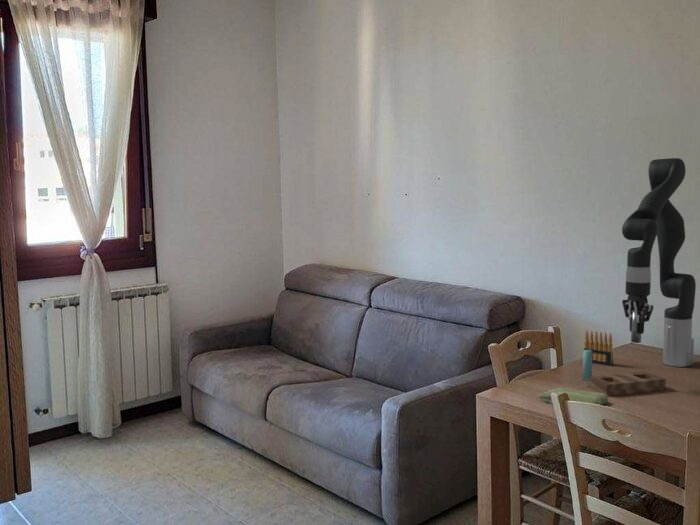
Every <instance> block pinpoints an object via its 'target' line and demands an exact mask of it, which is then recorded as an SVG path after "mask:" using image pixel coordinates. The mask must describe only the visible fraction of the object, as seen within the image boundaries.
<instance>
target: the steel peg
mask: <svg viewBox="0 0 700 525" xmlns="http://www.w3.org/2000/svg"><path fill="white" fill-rule="evenodd" d="M639 313H642V312H639ZM640 318H641V315H640ZM636 326H637V317H636V315H635V311H632V330H631V331H630V332H631V336H630V337H631V338H630V339H631V340H630V342H631V343H634V344H639V343H642V334H637V333H636Z"/></svg>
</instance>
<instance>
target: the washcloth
mask: <svg viewBox="0 0 700 525" xmlns="http://www.w3.org/2000/svg"><path fill="white" fill-rule="evenodd" d="M552 392H565V393H567V394H568V395H569V398H570V400H574V401H582V402H589V403H595V404H603V405H604V404H607V403H608V402H609V398H608V396H606V395H605V394H603V393H599V392H593V391H592V392H591V391H588V390H581V389H575V388H567V387H557V388H554V389H550V390H546V392H544V393H539V394H538V398H539V399H541V402H542V401H544V402H551V397H550V394H551V393H552ZM544 402H543V403H544Z"/></svg>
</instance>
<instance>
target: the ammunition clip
mask: <svg viewBox="0 0 700 525" xmlns="http://www.w3.org/2000/svg"><path fill="white" fill-rule="evenodd" d="M607 335H608V336H607ZM583 343H584V344H583V350H592V364H593V365H594V364H595V365H603V366H607V367H611V366H613V365H614V357H613V356H614V355H613V353H614V352H613V337H612V333H611V332H610V333H609V334H607V332H606V331H605V332H604V334H603V332H602V331H600V332H599V335H598V331H597V330H596V331H595V332H594V333H593V330H590V332H589V331H588V330H587V329H586V330H585V334H584V341H583Z"/></svg>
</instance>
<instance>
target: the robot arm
mask: <svg viewBox="0 0 700 525" xmlns="http://www.w3.org/2000/svg"><path fill="white" fill-rule="evenodd" d="M686 172H687V171H686V164H685V162H684V160H683V159H681V158H678V157H672V158H658V159H653V160H650V162H649V165H648V180H649V185H650V186H649V187H650V191H649V192H648V193H647V194H645V195H644V197H643V198H642V200H641V202H640V204H639V205H638V207H637V209H636V210H634V212H632V213H631V215H629V216H628V217H627V218H626V219H625V221H624V222H623V225H622V228H621V234H622V236H623V237H624V239H626V240H628V241H638V242H639V241H640V242H641V241H642V244H641V246H637V247H632V248H629V249H628V251H627V255H626V256H627V264H626V272H625V294H626V295H628V297H627V299H622V301H621V303H622V307H623V313H624V316H625V318H627V319H628V320H629V332H631V330H632V311H635V315H636V317H637V326H636V333H637V334H641V335H642V334H644V332H645V323H646V322H649V321H650V319H651V315H652V313H653V310H654V305H653V304H649V300H648V297H649V296H650V295H651V288H652V286H651V282H652V272H651V270H652V269H651V262H652V261H651V258H652V257H651V256H652V252H653V247H654V243H655V241H656V239H657V245H658V248H657V249H658V255H659V256H658V258H659V288H660V291H661V292H660V293H661V294H662V296H663V297H664V298H667V299H668V298H669V299H674V300H675V299H676V300H678V302H677V305H675V306H671V307H666V308H665V309H664V314H663V315H664V316H663V317H664V319H663V348H662V349H663V352H662V364H664V365H666V366H669V367H670V366H671V367H681V368H683V367H684V368H685V367H689V366H691V365H694V350H695V349H694V346H695V344H694V343H695V342H694V341H695V340H694V338H692V334H693V332H692V331H693V314H694V308H695V302H696V301H695V300H696V291H697V290H696V289H697V285H696V279H695V277H694V276H693V275H692V274H688V273H679V272H675V260H676V257H677V255H678V253H679V252H680V250H681V249H682V247H683V244H684V243H685V241H686V240H685V239H686V230H685V229H686V228H685V221H684V217H683V215H681V213H680V212H679V211H678V209H677V207H675V205H673V203H672V202H671V201H670V199H671V197H672V196H673V194H675V192H676V191H677V189H678V188H679V187H680V186H681V184H682V183H683V181H684V179H685V177H686ZM639 312H642V313H639ZM640 315H641V318H640Z"/></svg>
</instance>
